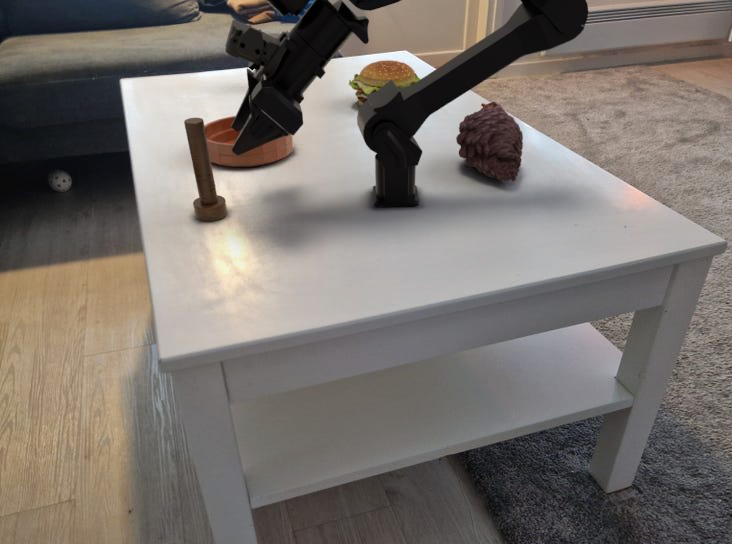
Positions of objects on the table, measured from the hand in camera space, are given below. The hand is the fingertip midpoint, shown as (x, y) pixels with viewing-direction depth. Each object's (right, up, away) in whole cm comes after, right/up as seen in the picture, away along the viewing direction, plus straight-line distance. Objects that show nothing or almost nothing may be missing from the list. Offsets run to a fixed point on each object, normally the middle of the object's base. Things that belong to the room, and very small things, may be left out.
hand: (234, 140), depth 85 cm
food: (+20, +22, +45) cm, 54 cm away
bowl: (-3, +6, +25) cm, 25 cm away
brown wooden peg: (-5, -9, +6) cm, 11 cm away
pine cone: (+36, +1, +17) cm, 40 cm away
